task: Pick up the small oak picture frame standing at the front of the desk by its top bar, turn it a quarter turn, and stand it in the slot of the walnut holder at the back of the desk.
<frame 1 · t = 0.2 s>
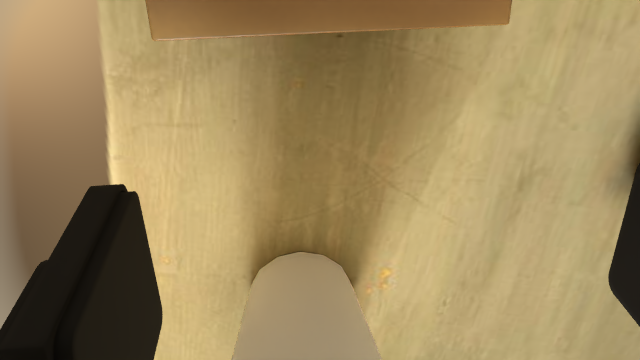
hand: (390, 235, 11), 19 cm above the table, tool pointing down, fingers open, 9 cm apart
foam cup: (300, 291, 36), on the table
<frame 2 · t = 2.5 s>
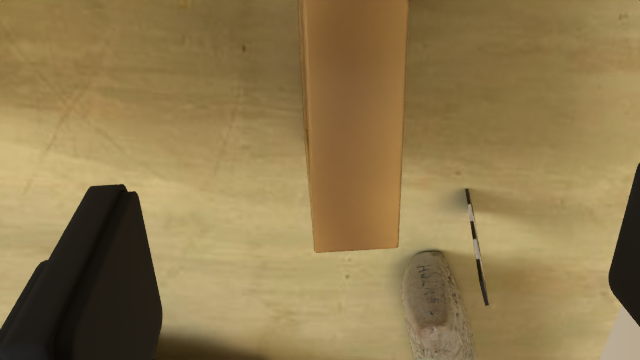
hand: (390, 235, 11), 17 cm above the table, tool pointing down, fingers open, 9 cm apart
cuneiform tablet: (441, 284, 33), on the table
frame: (332, 19, 25), on the table
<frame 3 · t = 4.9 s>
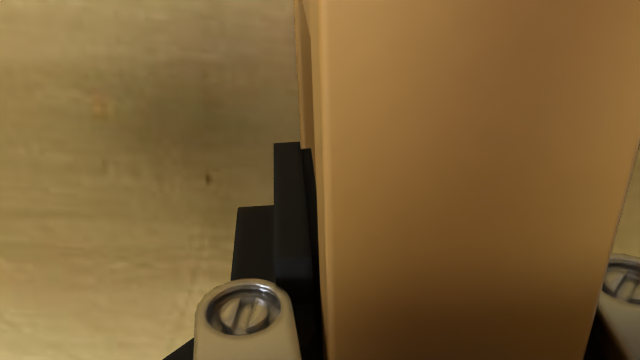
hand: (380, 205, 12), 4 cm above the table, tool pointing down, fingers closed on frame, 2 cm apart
frame: (357, 133, 15), on the table, touching gripper
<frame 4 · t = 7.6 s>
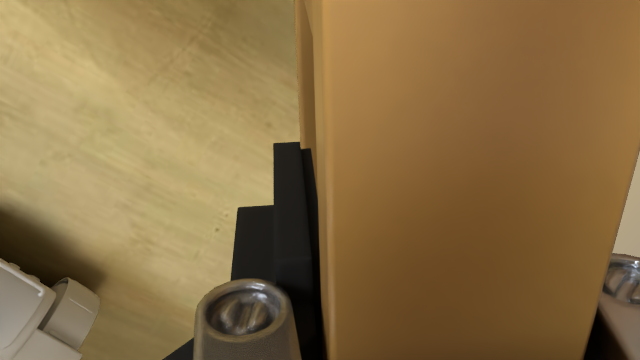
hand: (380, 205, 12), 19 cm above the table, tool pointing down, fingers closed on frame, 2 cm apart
frame: (357, 133, 15), point 15 cm above the table, touching gripper
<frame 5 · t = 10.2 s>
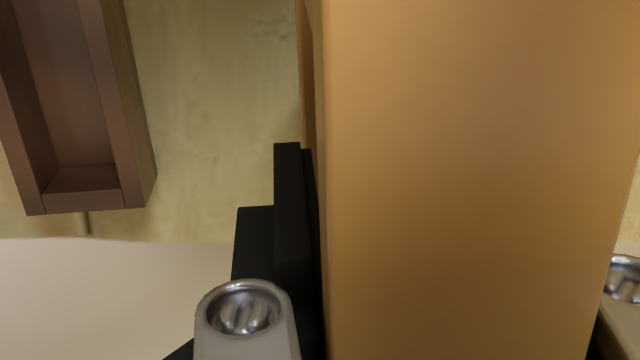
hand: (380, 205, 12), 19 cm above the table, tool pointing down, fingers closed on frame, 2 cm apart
frame: (359, 132, 15), point 16 cm above the table, touching gripper
holder: (71, 50, 29), on the table
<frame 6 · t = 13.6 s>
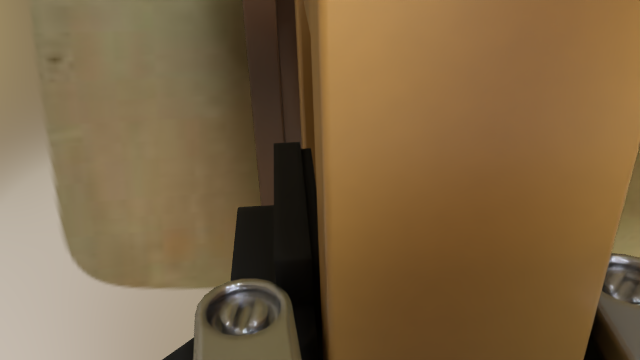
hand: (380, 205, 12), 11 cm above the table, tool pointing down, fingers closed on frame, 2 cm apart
frame: (358, 131, 15), point 8 cm above the table, touching gripper
holder: (333, 50, 22), on the table
when the fingers open (4 cm above the table, at t = 15.8 s): frame stays where it is, resting on holder.
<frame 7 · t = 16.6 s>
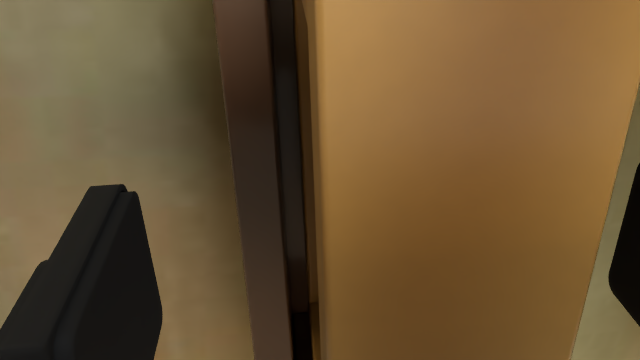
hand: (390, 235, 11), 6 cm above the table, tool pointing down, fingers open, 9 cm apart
frame: (355, 126, 15), point 1 cm above the table, touching holder
holder: (352, 120, 16), on the table
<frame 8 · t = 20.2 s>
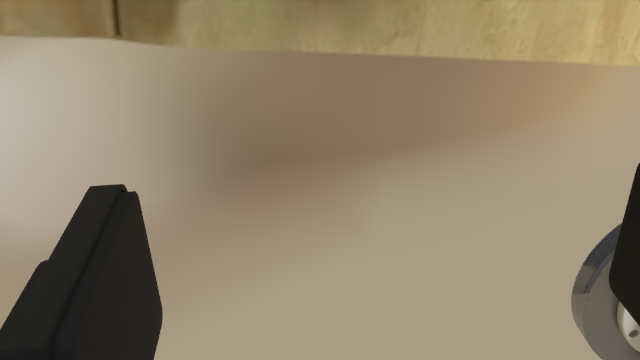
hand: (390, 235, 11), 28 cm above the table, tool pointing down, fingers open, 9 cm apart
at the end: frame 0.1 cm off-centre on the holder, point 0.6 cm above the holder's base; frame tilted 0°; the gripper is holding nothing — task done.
